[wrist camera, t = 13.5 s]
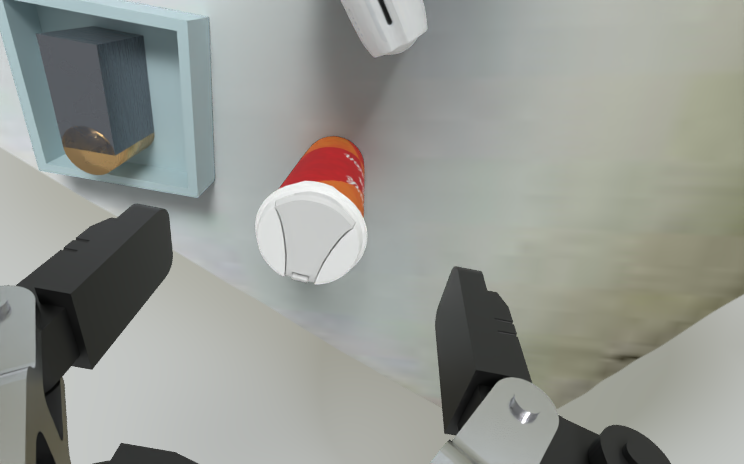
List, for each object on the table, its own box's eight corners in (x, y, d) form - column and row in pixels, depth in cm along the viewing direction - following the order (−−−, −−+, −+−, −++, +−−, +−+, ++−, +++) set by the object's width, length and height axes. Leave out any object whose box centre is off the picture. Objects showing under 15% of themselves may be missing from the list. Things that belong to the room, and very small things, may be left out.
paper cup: (363, 209, 41) (349, 301, 29) (288, 188, 40) (242, 275, 28) (386, 136, 37) (381, 209, 25) (303, 112, 36) (257, 175, 24)
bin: (30, -18, 32) (-14, -18, 29) (208, 17, 33) (187, 20, 29) (70, 154, 39) (39, 170, 36) (214, 179, 40) (198, 198, 37)
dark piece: (113, 145, 38) (68, 170, 33) (92, 25, 32) (35, 33, 27) (156, 152, 38) (119, 179, 33) (143, 35, 33) (96, 45, 28)
